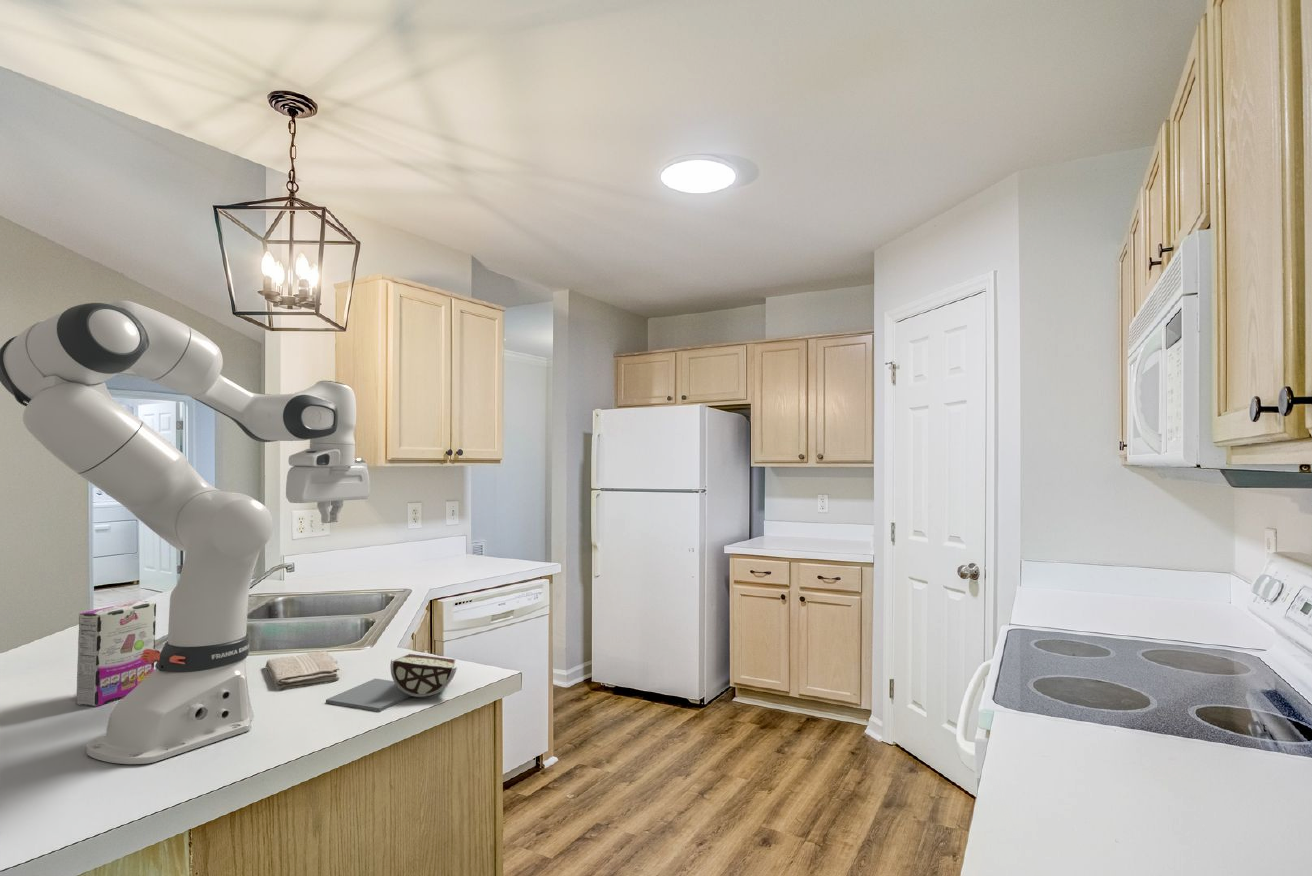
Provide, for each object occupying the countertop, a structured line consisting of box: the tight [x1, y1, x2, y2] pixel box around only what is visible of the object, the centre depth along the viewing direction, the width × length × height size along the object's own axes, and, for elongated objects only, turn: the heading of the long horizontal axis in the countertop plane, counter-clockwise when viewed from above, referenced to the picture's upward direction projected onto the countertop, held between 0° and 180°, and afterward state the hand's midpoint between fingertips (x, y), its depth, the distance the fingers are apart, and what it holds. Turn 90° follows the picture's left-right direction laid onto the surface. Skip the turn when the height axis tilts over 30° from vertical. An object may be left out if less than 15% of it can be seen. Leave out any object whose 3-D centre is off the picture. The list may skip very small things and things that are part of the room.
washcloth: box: [264, 650, 340, 691], centre depth 140 cm, size 12×18×3 cm, turn 37°
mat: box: [325, 678, 412, 712], centre depth 128 cm, size 13×12×1 cm
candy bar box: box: [75, 600, 157, 707], centre depth 125 cm, size 11×5×16 cm, turn 168°
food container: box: [389, 653, 458, 698], centre depth 131 cm, size 12×6×10 cm
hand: (329, 522), depth 144 cm, fingers closed
